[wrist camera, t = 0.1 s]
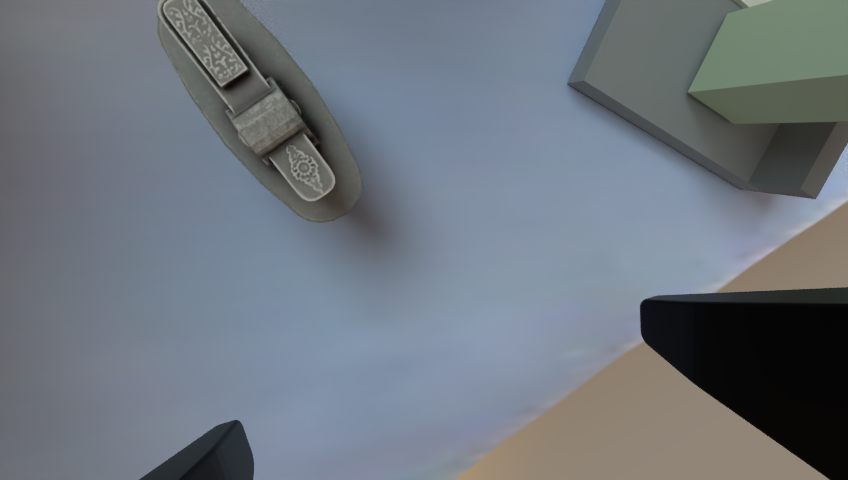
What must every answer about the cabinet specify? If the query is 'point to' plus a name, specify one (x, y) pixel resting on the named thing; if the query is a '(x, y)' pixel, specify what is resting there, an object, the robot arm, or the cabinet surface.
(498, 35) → the cabinet surface
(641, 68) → the switch board
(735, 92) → the sage block
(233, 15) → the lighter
